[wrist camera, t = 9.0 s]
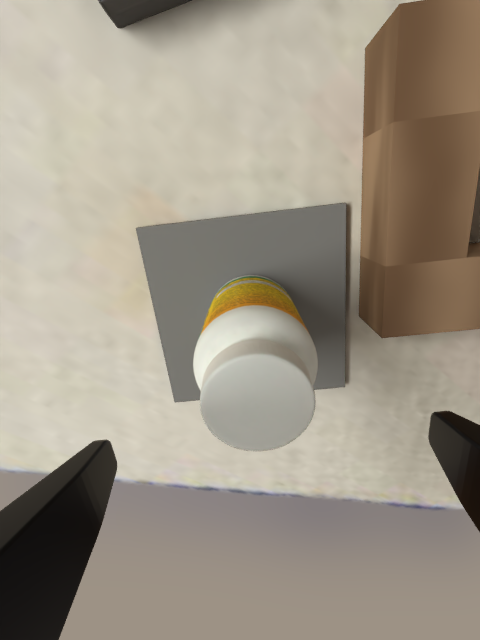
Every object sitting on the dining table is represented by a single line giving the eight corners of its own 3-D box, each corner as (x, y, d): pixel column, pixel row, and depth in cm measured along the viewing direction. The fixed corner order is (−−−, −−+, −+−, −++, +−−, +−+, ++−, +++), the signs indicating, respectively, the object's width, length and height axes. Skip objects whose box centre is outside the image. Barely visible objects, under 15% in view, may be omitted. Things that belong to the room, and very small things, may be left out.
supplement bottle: (302, 340, 20) (349, 451, 11) (224, 361, 21) (209, 481, 12) (282, 261, 18) (320, 316, 9) (197, 286, 19) (155, 360, 10)
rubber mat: (343, 202, 17) (346, 202, 17) (343, 383, 22) (344, 387, 21) (138, 227, 18) (135, 228, 18) (175, 399, 22) (174, 402, 22)
